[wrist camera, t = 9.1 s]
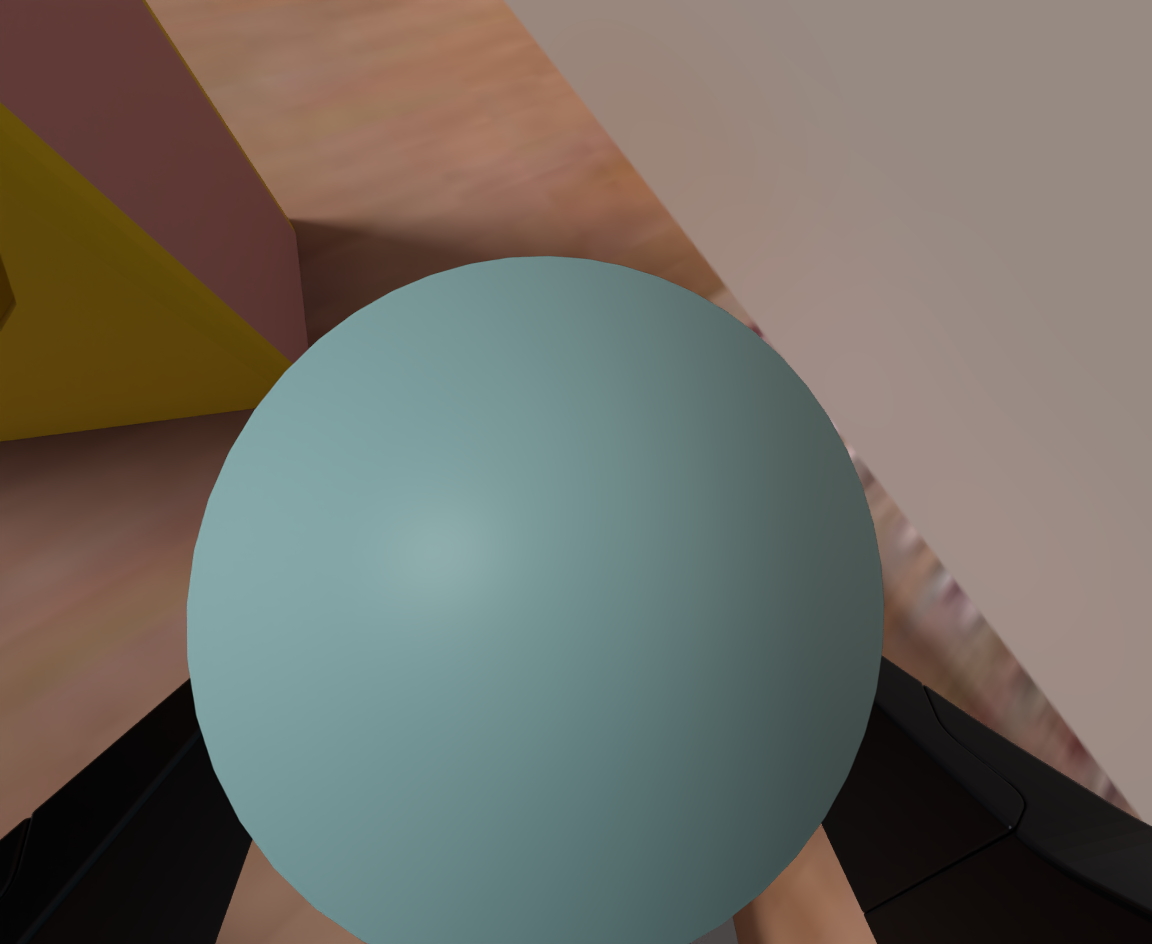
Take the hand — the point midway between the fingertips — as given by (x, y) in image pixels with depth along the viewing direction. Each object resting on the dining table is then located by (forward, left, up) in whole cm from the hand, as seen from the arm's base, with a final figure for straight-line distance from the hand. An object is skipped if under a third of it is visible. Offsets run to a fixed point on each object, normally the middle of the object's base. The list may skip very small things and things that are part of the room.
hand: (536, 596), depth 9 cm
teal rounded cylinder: (+1, 0, -7) cm, 7 cm away
